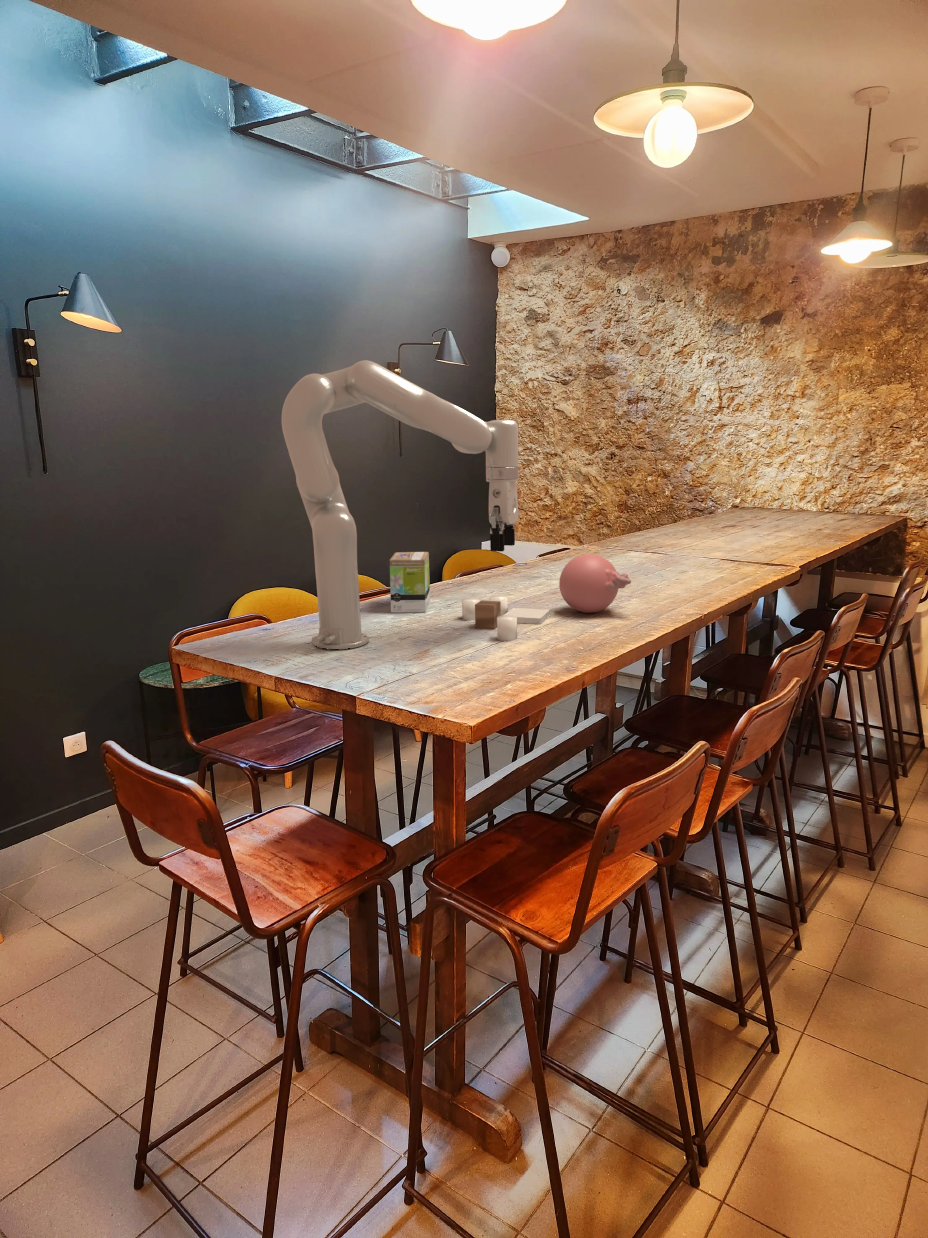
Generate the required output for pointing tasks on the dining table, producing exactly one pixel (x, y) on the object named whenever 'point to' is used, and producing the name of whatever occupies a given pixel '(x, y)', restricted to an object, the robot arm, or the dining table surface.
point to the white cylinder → (503, 602)
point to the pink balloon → (590, 583)
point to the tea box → (409, 582)
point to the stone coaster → (529, 615)
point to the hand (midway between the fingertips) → (502, 548)
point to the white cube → (469, 608)
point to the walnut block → (487, 614)
